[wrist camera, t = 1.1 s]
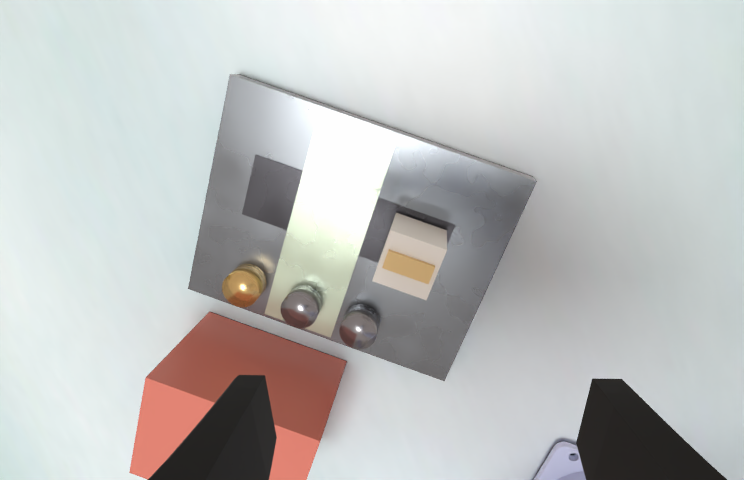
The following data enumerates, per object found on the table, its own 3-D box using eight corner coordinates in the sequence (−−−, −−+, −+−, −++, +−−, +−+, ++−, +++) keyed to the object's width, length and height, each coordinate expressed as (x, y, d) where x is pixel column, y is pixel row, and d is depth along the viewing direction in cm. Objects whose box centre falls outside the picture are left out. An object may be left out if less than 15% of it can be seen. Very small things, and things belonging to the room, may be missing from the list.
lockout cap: (346, 361, 26) (320, 441, 20) (318, 439, 28) (287, 531, 22) (209, 311, 26) (145, 377, 21) (191, 392, 28) (129, 472, 23)
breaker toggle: (446, 230, 21) (447, 251, 19) (428, 276, 22) (425, 302, 20) (396, 212, 21) (389, 231, 19) (379, 259, 22) (371, 283, 20)
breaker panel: (532, 176, 21) (542, 187, 19) (444, 369, 25) (444, 396, 23) (239, 74, 22) (217, 74, 20) (197, 280, 26) (176, 298, 24)
